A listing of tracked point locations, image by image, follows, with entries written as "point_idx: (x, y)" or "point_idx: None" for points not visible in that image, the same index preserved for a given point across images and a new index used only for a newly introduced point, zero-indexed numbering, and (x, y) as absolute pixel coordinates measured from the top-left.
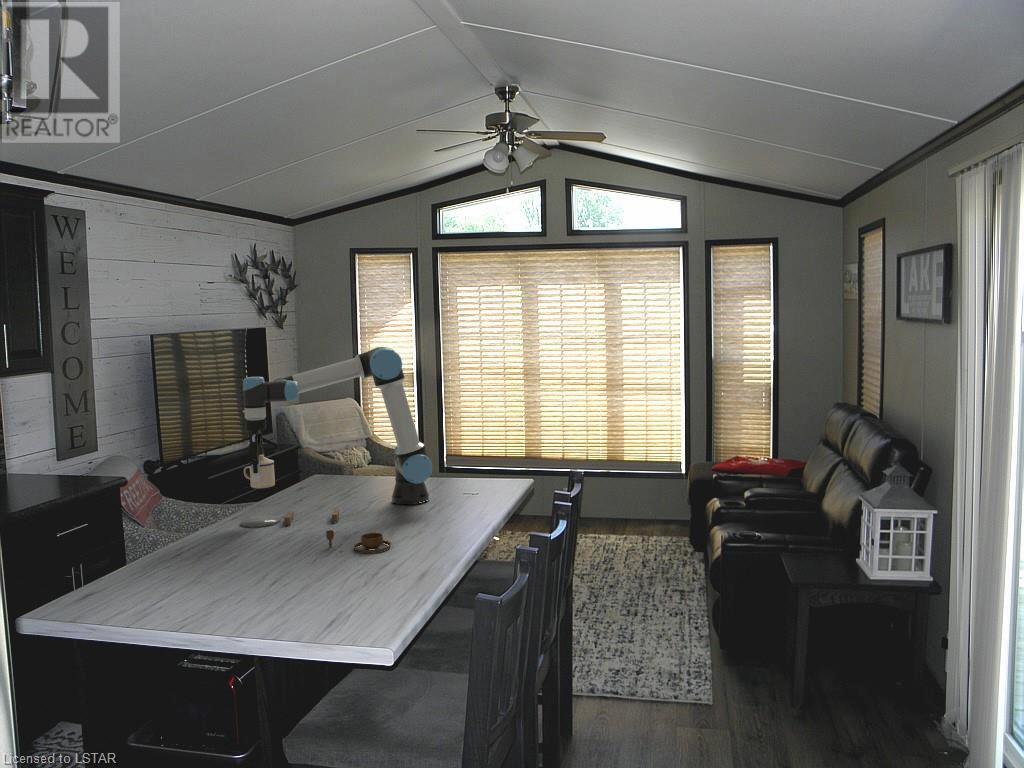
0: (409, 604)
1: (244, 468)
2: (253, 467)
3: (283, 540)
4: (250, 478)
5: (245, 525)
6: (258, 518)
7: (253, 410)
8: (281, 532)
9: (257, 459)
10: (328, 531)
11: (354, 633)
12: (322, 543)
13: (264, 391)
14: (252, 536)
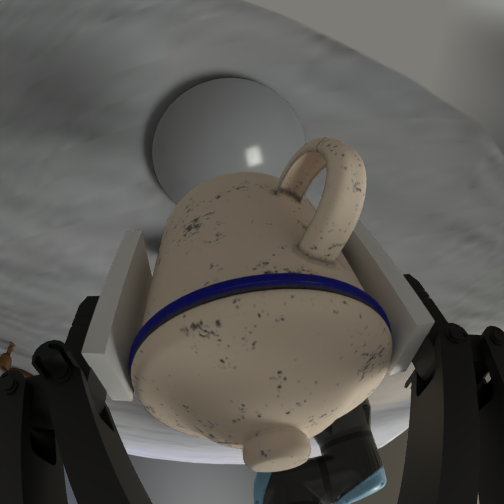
0: None
1: (338, 167)
2: (68, 344)
3: (22, 265)
4: (209, 206)
5: (168, 107)
6: (259, 141)
7: None
8: (87, 247)
9: (39, 442)
10: (4, 365)
11: None
12: (26, 334)
13: None
14: (43, 173)
